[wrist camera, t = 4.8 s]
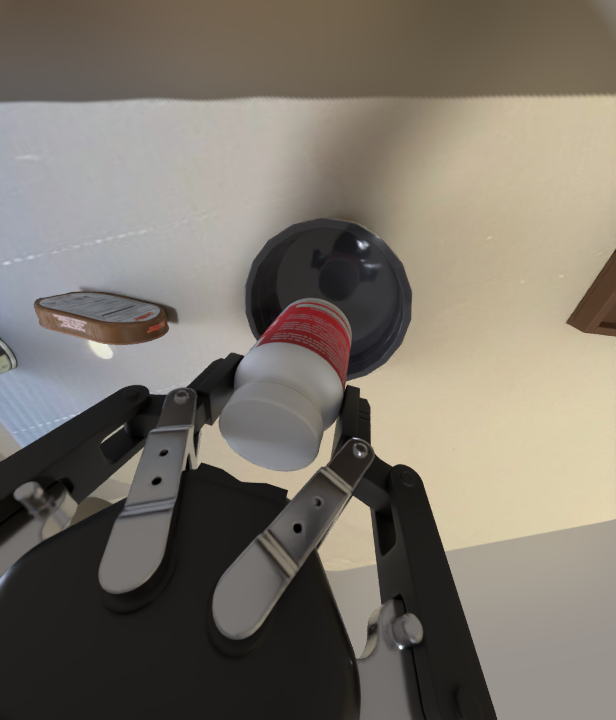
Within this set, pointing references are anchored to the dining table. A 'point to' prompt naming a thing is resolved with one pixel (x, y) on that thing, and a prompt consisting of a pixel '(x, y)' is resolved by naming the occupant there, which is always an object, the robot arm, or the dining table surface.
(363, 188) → the dining table surface
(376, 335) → the bowl
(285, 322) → the pill bottle
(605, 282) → the tray
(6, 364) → the coffee can
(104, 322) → the tin
